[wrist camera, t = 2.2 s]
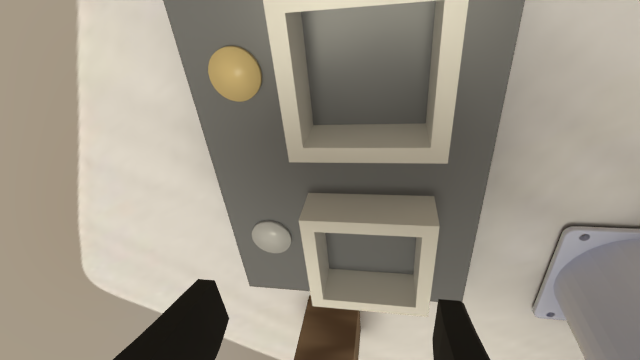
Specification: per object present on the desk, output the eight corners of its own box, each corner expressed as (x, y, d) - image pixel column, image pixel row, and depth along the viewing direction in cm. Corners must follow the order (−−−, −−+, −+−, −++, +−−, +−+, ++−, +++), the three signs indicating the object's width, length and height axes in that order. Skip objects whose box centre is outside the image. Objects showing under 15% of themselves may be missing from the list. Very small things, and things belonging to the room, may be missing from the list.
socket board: (530, -96, 12) (580, -114, 9) (458, 285, 24) (468, 338, 21) (167, -50, 15) (106, -51, 12) (256, 270, 27) (237, 315, 23)
